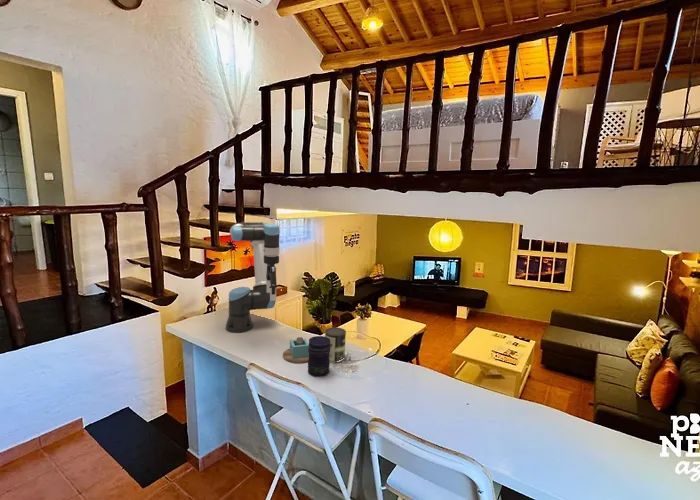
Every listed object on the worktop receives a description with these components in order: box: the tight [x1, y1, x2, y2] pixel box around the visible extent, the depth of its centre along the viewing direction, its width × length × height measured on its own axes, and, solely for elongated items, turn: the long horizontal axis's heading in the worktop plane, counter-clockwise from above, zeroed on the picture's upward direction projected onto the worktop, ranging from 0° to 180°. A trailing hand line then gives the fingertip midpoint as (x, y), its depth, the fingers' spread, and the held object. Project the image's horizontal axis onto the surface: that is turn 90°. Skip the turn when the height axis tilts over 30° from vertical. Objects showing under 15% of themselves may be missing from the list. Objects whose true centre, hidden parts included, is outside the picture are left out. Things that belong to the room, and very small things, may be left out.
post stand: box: [282, 336, 309, 364], centre depth 175 cm, size 16×16×9 cm
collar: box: [289, 338, 309, 359], centre depth 175 cm, size 8×8×6 cm
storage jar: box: [307, 335, 330, 378], centre depth 160 cm, size 10×10×15 cm
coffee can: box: [324, 327, 347, 364], centre depth 173 cm, size 10×10×14 cm
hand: (271, 296), depth 181 cm, fingers open, 13 cm apart
